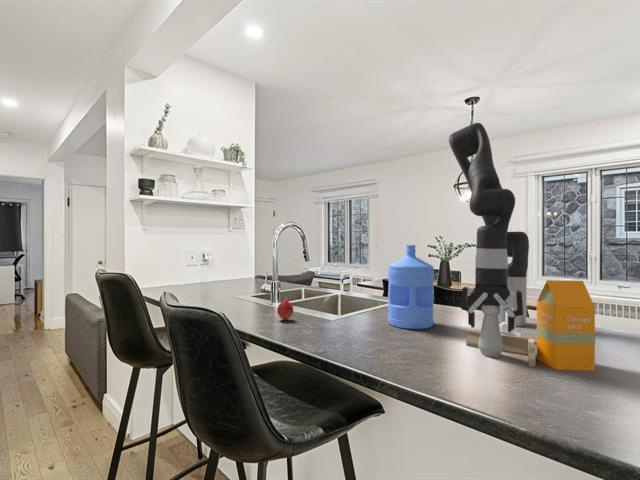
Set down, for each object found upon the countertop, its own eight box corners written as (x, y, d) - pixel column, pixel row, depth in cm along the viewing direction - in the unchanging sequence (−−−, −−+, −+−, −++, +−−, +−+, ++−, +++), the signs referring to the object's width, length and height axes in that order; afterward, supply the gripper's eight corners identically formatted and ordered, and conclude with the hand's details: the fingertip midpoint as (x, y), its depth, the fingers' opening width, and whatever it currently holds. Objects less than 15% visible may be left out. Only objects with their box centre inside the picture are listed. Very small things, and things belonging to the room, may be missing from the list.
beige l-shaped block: (466, 344, 100) (466, 330, 100) (533, 353, 92) (533, 338, 92) (460, 355, 89) (461, 339, 89) (535, 367, 81) (535, 349, 81)
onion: (275, 321, 126) (275, 299, 126) (279, 318, 131) (280, 296, 131) (291, 322, 125) (291, 299, 125) (294, 319, 130) (295, 297, 130)
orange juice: (536, 358, 88) (536, 278, 88) (572, 359, 87) (572, 279, 88) (556, 369, 80) (556, 282, 80) (595, 370, 80) (596, 282, 80)
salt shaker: (474, 354, 90) (474, 304, 90) (483, 350, 94) (483, 301, 94) (498, 360, 86) (498, 307, 86) (506, 355, 90) (506, 304, 90)
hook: (501, 326, 99) (492, 309, 105) (501, 353, 106) (492, 335, 111) (529, 322, 98) (518, 304, 104) (527, 350, 104) (517, 332, 110)
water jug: (386, 319, 132) (387, 244, 133) (429, 320, 130) (430, 245, 130) (388, 328, 117) (389, 244, 117) (437, 331, 115) (438, 245, 115)
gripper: (459, 265, 91) (459, 328, 90) (523, 268, 84) (523, 336, 83) (463, 264, 97) (463, 323, 97) (523, 266, 90) (522, 329, 90)
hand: (490, 329), depth 90 cm, fingers open, 8 cm apart
